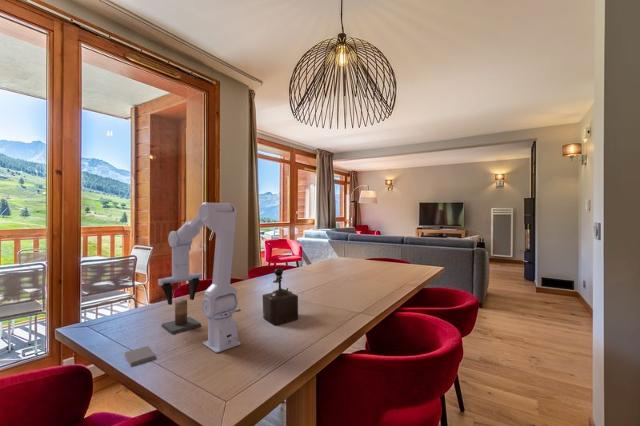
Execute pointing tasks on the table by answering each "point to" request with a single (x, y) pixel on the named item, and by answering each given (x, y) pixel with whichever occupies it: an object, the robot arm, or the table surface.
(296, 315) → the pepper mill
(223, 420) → the table surface
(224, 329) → the robot arm
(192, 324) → the mat
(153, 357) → the tile
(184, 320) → the peg
